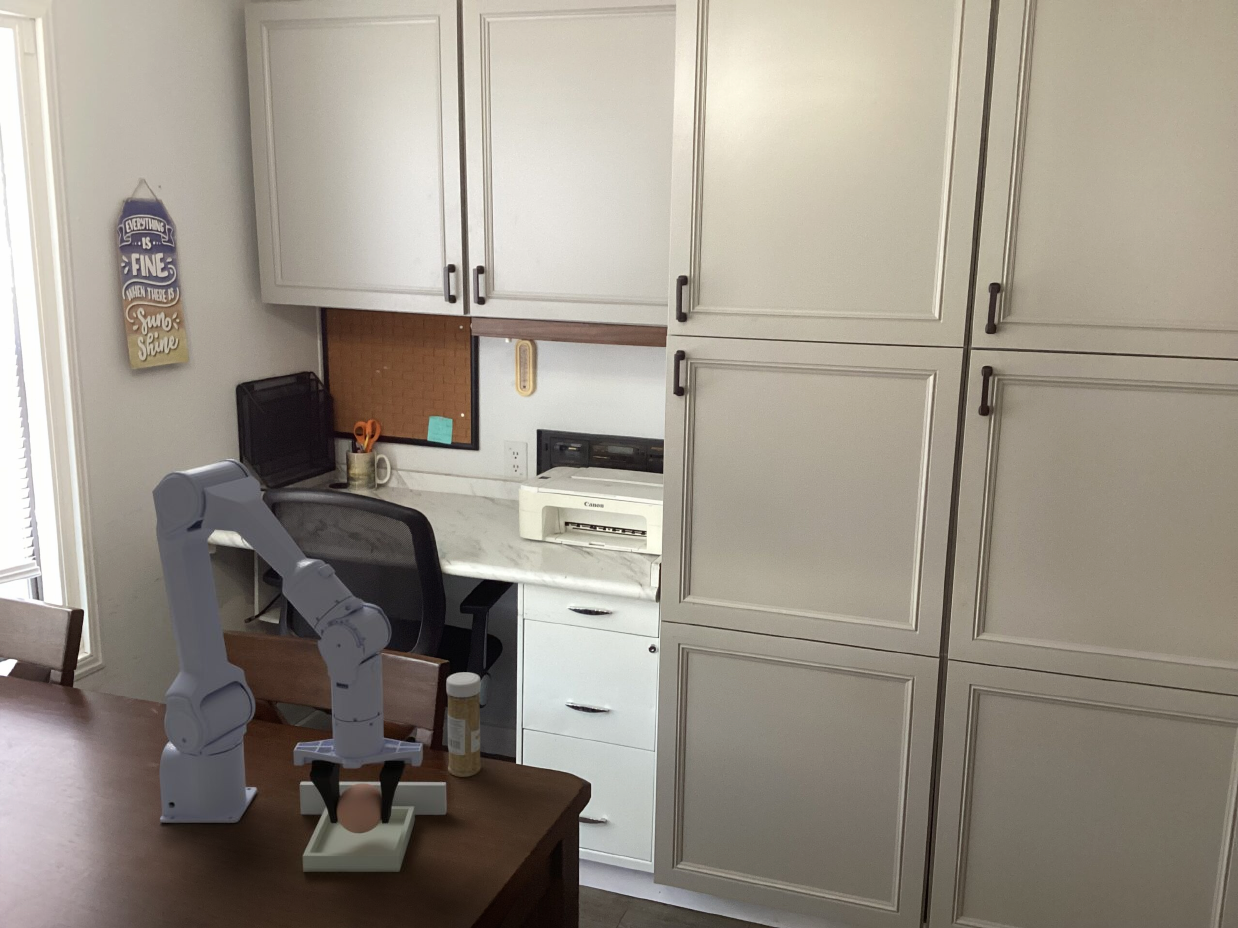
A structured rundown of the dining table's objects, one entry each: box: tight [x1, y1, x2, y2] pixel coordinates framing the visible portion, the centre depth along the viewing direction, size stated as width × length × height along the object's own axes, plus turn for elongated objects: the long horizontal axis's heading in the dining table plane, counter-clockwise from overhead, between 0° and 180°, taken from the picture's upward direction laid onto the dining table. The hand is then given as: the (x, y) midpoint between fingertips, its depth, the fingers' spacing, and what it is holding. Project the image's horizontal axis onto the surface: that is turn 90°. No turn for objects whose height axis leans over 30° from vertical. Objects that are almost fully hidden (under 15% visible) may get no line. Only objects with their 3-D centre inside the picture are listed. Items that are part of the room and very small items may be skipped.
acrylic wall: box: [299, 781, 447, 816], centre depth 128 cm, size 18×1×4 cm, turn 92°
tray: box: [302, 806, 416, 873], centre depth 121 cm, size 11×11×2 cm
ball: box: [336, 783, 382, 833], centre depth 121 cm, size 6×6×6 cm
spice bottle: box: [445, 671, 482, 778], centre depth 139 cm, size 5×5×14 cm
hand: (360, 818), depth 121 cm, fingers closed on ball, 5 cm apart
